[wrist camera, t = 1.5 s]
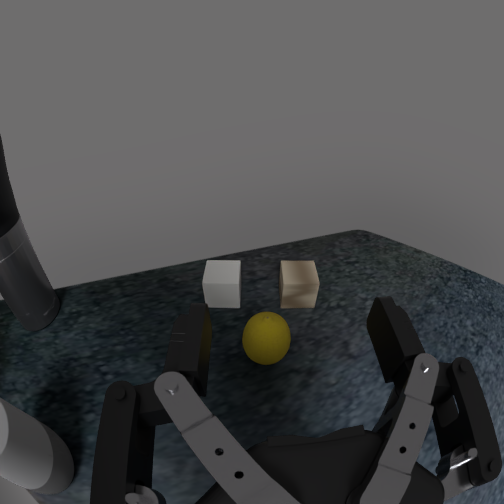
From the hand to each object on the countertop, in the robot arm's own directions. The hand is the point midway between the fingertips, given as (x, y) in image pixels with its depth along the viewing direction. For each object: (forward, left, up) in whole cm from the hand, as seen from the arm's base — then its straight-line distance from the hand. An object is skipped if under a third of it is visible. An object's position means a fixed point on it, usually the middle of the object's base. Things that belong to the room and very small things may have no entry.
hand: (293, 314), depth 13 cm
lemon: (0, +10, -21) cm, 23 cm away
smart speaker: (-25, -10, -21) cm, 34 cm away
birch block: (+5, +21, -21) cm, 30 cm away
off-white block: (-6, +21, -21) cm, 30 cm away
